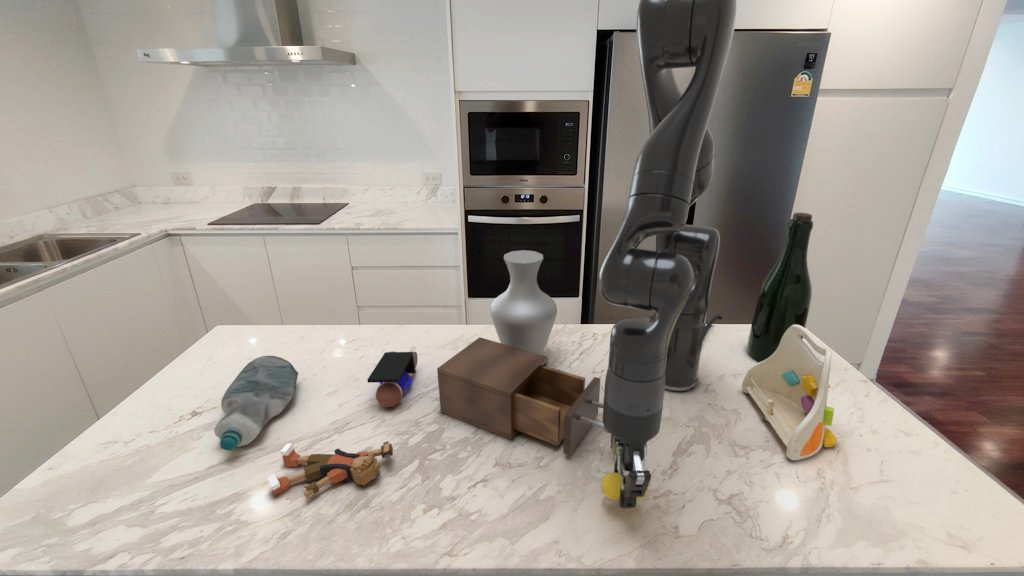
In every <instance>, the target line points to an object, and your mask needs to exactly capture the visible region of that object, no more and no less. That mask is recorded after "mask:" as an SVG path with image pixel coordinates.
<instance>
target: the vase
mask: <svg viewBox="0 0 1024 576" xmlns="http://www.w3.org/2000/svg"><path fill="white" fill-rule="evenodd" d="M503 260H504V262H505V264H506V267H507V270H508V272H509V280H510V282H509V284H508V287H507V289H506V290H505V291H504V292H501V294H499V295H497V297H495V299H494V300H492V302H491V305H490V310H489V311H490V318H491V321H492V324H493V326H494V329H495V332H496V334H497V338H498V340H499V343H501V344H505V345H508V346H512V347H515V348H519V349H522V350H526V351H529V352H533V353H536V354H540V355H543V353H544V350H545V348H546V346H547V344H548V342H549V338H550V335H551V334H552V333H551V332H552V330H553V327H554V324H555V322H556V318H557V314H558V307H557V304H556V302H555V300H554V299H553V298H552V297H551V296H550V295H548V294H547V293H546V292H544V291H542V290H541V289H540V287H539V284H538V280H537V278H538V272H539V270H540V266H541V264H542V262H543V260H544V254H542V253H540V252H538V251H534V250H528V249H527V250H525V249H521V250H512V251H510V252H507V253H505V254H504V255H503Z"/></svg>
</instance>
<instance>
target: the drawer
mask: <svg viewBox="0 0 1024 576" xmlns="http://www.w3.org/2000/svg"><path fill="white" fill-rule="evenodd" d="M600 391H601V378H599V377H596V376H594V377H593V378H592V379H591V381H590V382H589V383H588V385H587V386H586V377H584V376H580V375H577V374H574V373H570V372H567V371H564V370H560V369H556V368H554V367H551V366H548V367H547V366H544V365H543V366H542V367H541V368H540V369H539V370H538V371H537V372H536V373H535V374H534V375H533V376H532V377H531V378H530V379H529V380H528V381H527V382H526V383H525V384H524V385H523V386H522V387H521V388H520V389H519V390H518V391H517V392H516V393H515V394H514V395H513V422H514V429H515V430H518V431H519V432H520V433H522V434H526V435H528V436H531V437H532V438H533V437H534V438H536V439H538V440H541V441H544V442H547V443H549V444H551V445H554V446H557V447H558V446H559V445H560V443H561V442H562V441H563V450H562V451H563V455H567V456H571V455H572V453H573V452H574V450H575V449H576V447H577V446H578V445H579V443H580V442H581V440H582V439H583V437H584V436H585V434H586V433H587V432H588V430H589V429H590V427H591V426H594V427H598V428H600V429H603V431H604V432H605V433H606V434H609V435H611V434H610V433H609V432H608V431H607V429H606V428H605V426H604V424H603V422H601V421H597V420H596V418H597V417H598V415H599V409H603V405H604V403H602V402H600V393H601V392H600Z"/></svg>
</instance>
